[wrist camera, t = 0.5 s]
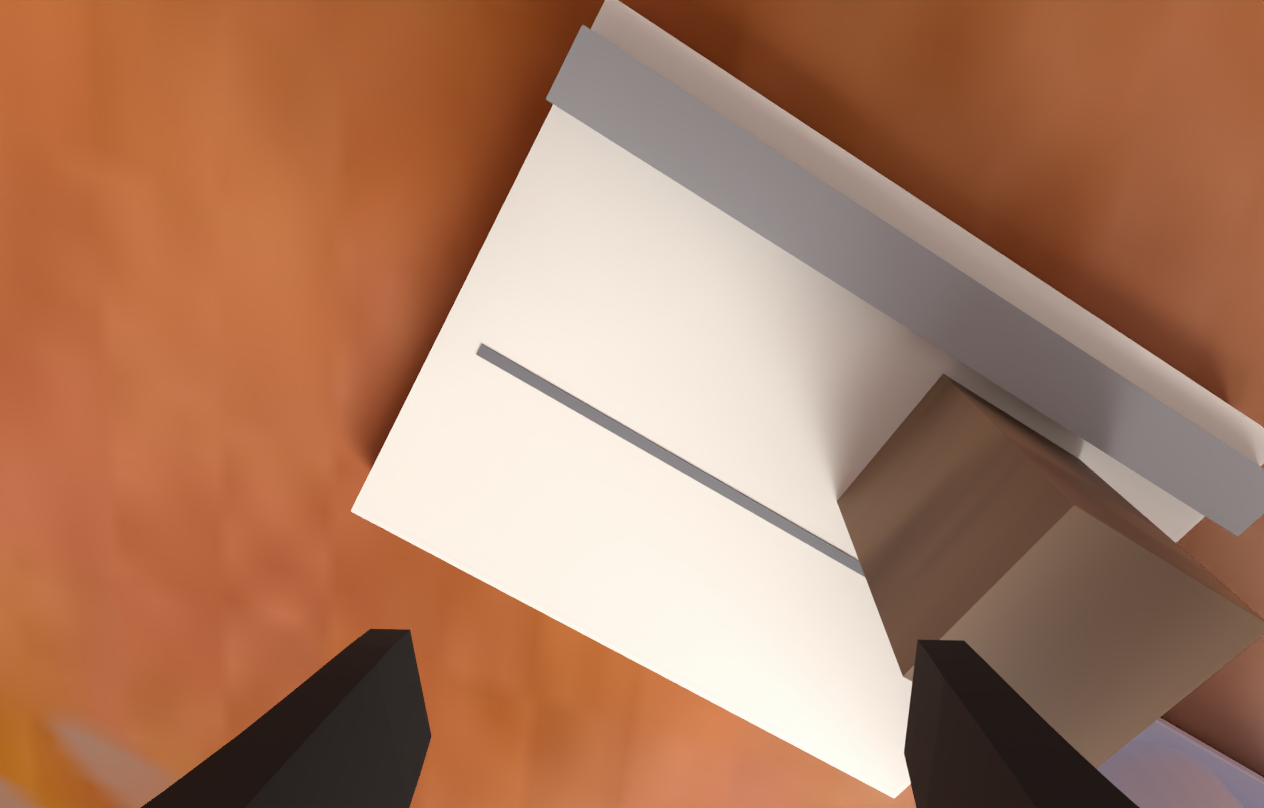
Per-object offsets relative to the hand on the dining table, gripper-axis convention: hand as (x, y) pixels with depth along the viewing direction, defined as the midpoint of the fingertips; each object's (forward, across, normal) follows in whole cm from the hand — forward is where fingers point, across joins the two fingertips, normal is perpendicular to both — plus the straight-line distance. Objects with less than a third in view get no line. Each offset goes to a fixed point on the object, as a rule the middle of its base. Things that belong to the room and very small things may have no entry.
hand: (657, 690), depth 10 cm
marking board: (+10, -3, +1) cm, 10 cm away
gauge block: (+8, -7, +1) cm, 11 cm away
